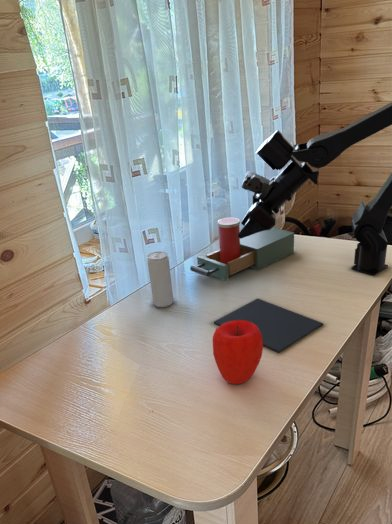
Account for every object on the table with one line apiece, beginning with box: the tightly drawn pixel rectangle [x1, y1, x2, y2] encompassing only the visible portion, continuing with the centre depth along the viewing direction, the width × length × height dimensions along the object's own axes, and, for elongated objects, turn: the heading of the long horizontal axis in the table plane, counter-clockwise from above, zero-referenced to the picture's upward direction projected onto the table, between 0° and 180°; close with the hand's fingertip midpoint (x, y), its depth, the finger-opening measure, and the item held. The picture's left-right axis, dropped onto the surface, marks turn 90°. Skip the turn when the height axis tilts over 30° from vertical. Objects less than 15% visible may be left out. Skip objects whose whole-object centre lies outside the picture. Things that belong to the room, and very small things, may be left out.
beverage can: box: [146, 250, 174, 308], centre depth 117 cm, size 5×5×12 cm
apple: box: [212, 320, 264, 385], centre depth 90 cm, size 9×9×11 cm
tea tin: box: [217, 217, 241, 265], centre depth 129 cm, size 5×5×11 cm
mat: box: [213, 298, 324, 354], centre depth 108 cm, size 18×14×1 cm
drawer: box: [189, 247, 255, 281], centre depth 131 cm, size 18×10×4 cm, turn 132°
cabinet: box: [240, 226, 295, 271], centre depth 138 cm, size 15×11×6 cm
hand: (240, 230), depth 127 cm, fingers open, 9 cm apart
